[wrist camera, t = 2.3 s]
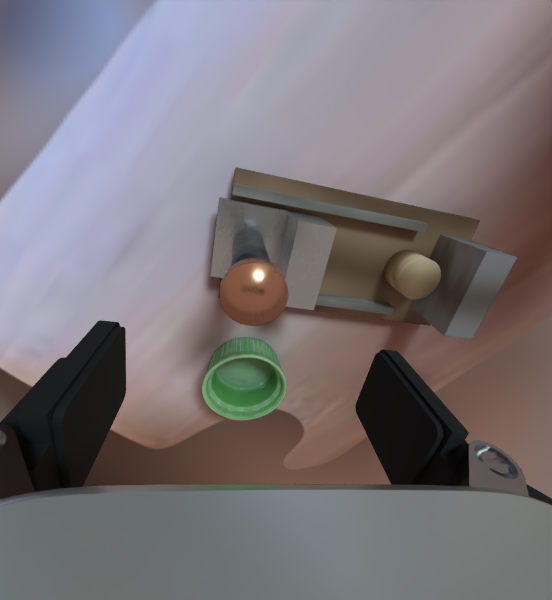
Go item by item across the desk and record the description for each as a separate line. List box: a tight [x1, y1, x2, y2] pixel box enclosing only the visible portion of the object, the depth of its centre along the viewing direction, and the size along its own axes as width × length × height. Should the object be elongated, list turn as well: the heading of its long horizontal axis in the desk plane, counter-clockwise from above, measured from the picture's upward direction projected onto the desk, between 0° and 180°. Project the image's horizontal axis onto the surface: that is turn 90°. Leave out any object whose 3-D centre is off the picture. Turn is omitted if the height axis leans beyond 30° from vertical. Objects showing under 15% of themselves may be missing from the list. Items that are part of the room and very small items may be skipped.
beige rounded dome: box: [384, 250, 441, 299], centre depth 28 cm, size 4×4×3 cm
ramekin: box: [202, 338, 287, 420], centre depth 33 cm, size 9×9×4 cm
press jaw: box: [210, 197, 337, 326], centre depth 22 cm, size 7×9×12 cm
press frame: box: [219, 168, 518, 339], centre depth 27 cm, size 12×24×8 cm, turn 79°
